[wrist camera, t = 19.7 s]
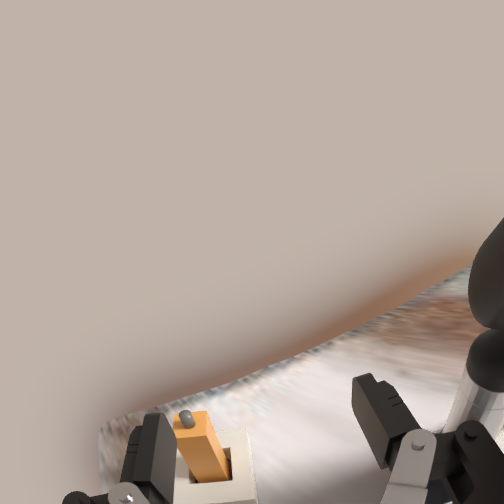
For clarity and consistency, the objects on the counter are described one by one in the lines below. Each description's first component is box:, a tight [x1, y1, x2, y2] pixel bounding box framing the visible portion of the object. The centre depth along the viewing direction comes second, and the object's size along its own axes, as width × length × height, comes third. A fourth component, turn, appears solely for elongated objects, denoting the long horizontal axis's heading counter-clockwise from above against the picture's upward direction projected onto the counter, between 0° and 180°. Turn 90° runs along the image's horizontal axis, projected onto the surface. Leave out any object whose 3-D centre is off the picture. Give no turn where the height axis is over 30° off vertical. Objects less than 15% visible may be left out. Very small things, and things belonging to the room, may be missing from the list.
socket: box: [173, 427, 258, 504], centre depth 39 cm, size 14×12×4 cm
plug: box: [173, 410, 231, 483], centre depth 37 cm, size 4×4×16 cm
